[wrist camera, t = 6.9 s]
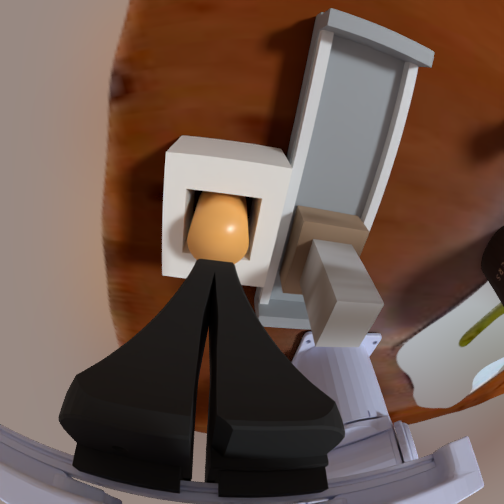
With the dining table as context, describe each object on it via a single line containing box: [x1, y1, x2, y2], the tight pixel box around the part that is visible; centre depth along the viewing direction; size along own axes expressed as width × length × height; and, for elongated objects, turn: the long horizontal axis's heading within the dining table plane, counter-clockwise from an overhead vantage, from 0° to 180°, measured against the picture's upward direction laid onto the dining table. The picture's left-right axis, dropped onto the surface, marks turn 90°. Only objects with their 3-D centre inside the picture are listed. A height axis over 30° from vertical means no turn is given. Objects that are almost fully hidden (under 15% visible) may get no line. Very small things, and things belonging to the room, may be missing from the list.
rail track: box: [254, 8, 434, 329], centre depth 16 cm, size 20×6×3 cm, turn 170°
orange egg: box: [187, 191, 249, 264], centre depth 15 cm, size 3×3×4 cm
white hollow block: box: [162, 135, 292, 287], centre depth 16 cm, size 7×6×4 cm
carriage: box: [279, 205, 384, 347], centre depth 16 cm, size 5×4×7 cm
